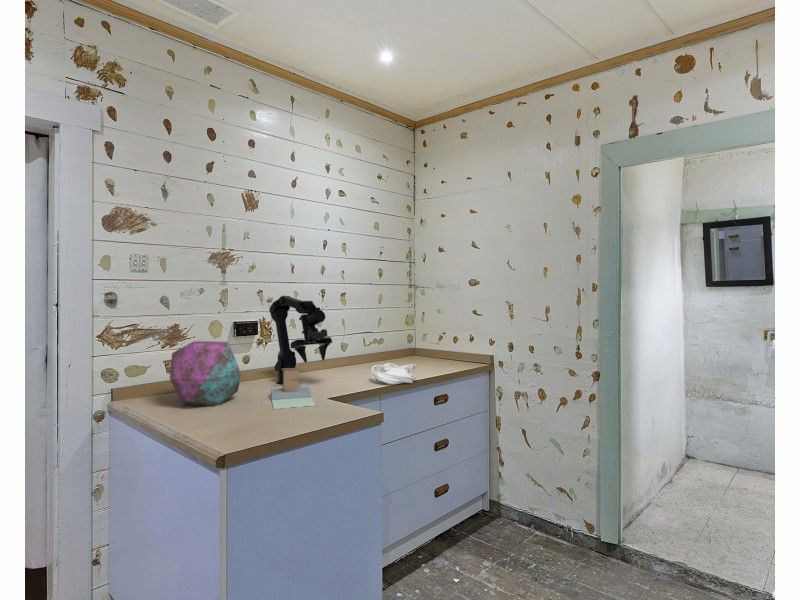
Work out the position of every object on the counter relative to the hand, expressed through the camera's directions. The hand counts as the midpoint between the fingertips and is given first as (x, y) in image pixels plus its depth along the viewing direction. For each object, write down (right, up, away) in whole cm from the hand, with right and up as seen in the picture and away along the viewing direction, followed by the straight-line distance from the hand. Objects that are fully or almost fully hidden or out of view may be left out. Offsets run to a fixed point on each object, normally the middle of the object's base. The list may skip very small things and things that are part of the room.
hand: (314, 361), depth 215 cm
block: (-8, -11, -12) cm, 18 cm away
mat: (-5, -14, -22) cm, 27 cm away
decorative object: (-41, -14, -20) cm, 48 cm away
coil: (+35, -13, +24) cm, 44 cm away
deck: (-9, -14, -11) cm, 19 cm away
